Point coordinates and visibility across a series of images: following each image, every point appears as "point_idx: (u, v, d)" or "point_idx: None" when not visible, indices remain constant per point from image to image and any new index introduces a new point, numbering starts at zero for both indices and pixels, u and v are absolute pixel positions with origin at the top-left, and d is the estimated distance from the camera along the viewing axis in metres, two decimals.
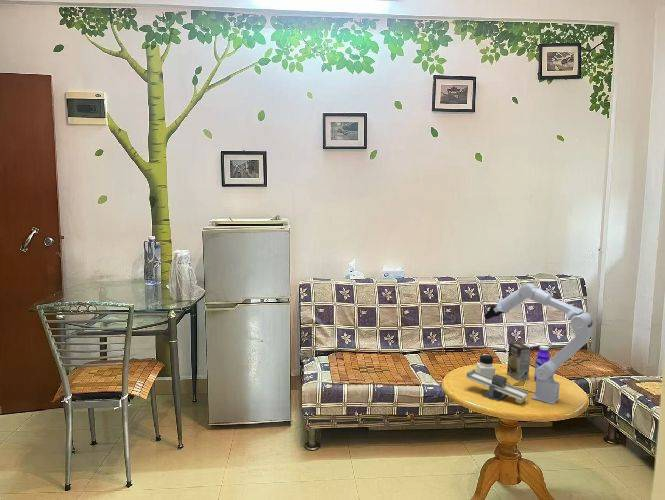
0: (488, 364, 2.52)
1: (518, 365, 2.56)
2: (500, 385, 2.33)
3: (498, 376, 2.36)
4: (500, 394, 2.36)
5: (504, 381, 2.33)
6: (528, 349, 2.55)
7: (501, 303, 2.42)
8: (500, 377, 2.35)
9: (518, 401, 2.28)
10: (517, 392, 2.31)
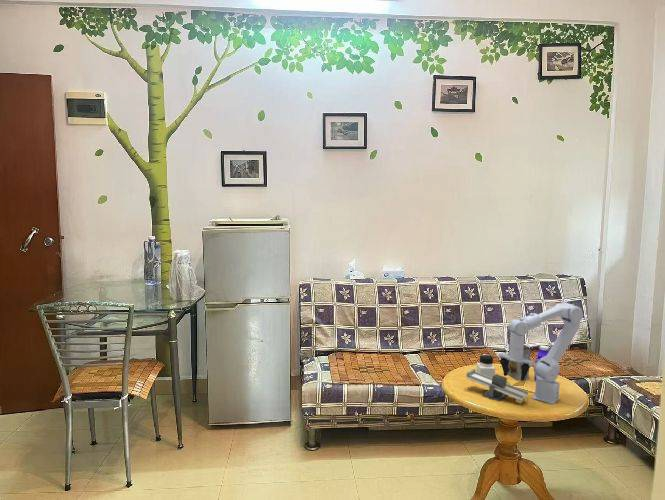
0: (488, 364, 2.52)
1: (518, 365, 2.56)
2: (500, 385, 2.33)
3: (498, 376, 2.36)
4: (500, 394, 2.36)
5: (504, 381, 2.33)
6: (528, 349, 2.55)
7: (520, 357, 2.27)
8: (500, 377, 2.35)
9: (518, 401, 2.28)
10: (517, 392, 2.31)
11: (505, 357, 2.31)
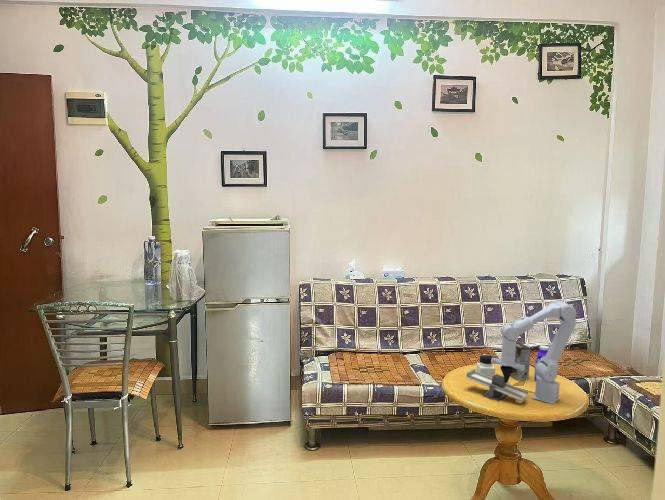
0: (488, 364, 2.52)
1: None
2: (500, 385, 2.33)
3: (498, 376, 2.36)
4: (500, 394, 2.36)
5: (504, 381, 2.33)
6: (528, 349, 2.55)
7: (511, 362, 2.30)
8: (500, 377, 2.35)
9: (518, 401, 2.28)
10: (517, 392, 2.31)
11: (497, 362, 2.33)
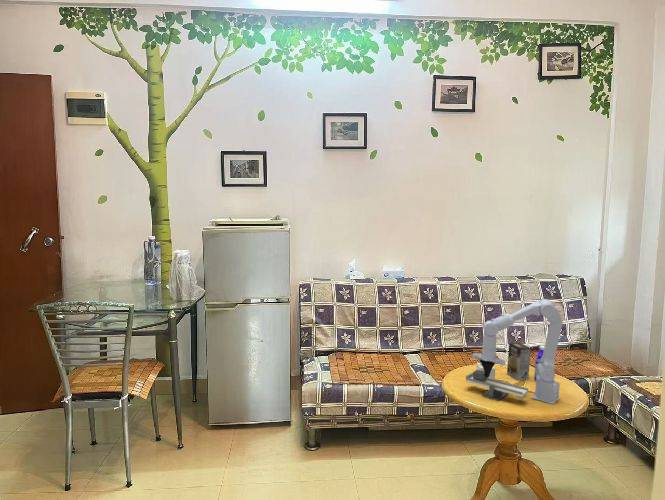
0: None
1: (518, 365, 2.56)
2: (481, 379, 2.39)
3: (478, 371, 2.42)
4: (500, 394, 2.36)
5: None
6: (528, 349, 2.55)
7: (492, 357, 2.35)
8: (480, 372, 2.41)
9: (519, 398, 2.27)
10: (517, 389, 2.31)
11: (478, 357, 2.39)
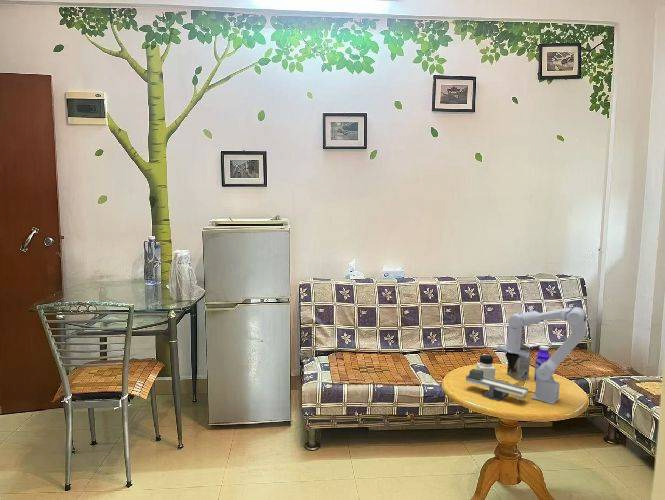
0: (488, 364, 2.52)
1: (518, 365, 2.56)
2: (477, 378, 2.40)
3: (475, 370, 2.43)
4: (500, 394, 2.36)
5: (481, 374, 2.40)
6: (528, 349, 2.55)
7: (517, 349, 2.38)
8: (477, 371, 2.42)
9: (519, 398, 2.27)
10: (517, 389, 2.31)
11: (503, 349, 2.42)
